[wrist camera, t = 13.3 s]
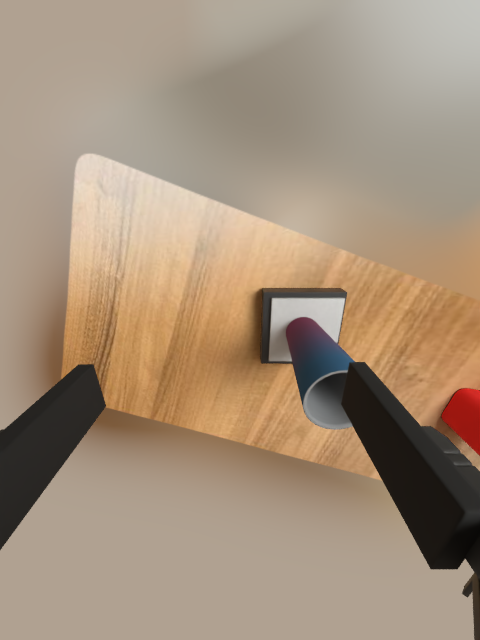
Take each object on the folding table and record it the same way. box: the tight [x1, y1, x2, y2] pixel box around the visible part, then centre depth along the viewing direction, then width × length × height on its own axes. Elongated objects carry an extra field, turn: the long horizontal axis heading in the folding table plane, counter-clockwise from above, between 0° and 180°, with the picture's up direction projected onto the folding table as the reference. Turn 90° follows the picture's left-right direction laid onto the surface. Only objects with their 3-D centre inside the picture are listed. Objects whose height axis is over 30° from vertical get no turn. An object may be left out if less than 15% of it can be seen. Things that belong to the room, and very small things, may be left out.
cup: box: [286, 317, 355, 429], centre depth 28 cm, size 7×7×15 cm
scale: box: [260, 288, 347, 364], centre depth 37 cm, size 12×12×3 cm
